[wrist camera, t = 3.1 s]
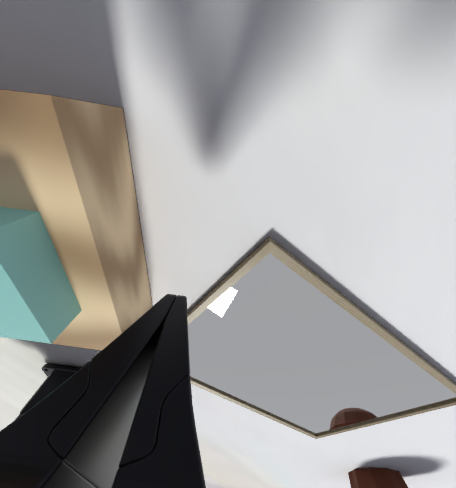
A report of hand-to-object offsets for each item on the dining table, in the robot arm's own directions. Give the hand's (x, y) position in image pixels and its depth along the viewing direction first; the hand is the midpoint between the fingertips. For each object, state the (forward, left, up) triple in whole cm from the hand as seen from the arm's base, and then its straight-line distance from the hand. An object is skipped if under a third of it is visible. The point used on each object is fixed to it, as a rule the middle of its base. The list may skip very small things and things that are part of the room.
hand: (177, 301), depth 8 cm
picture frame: (-14, -11, -6) cm, 19 cm away
